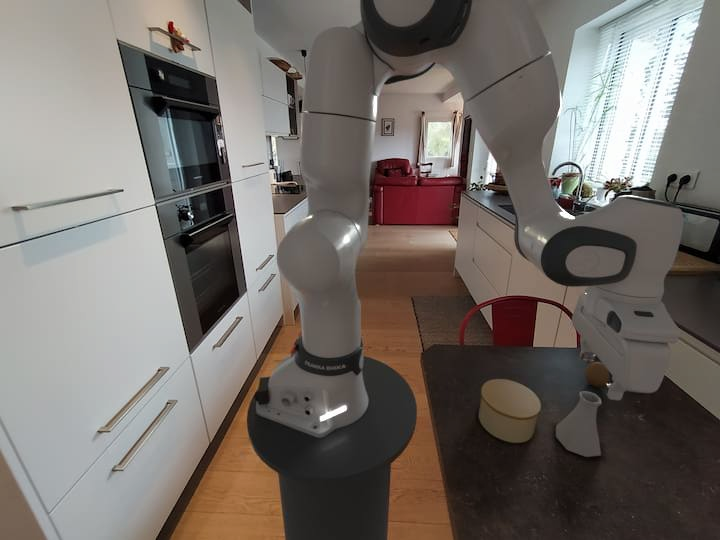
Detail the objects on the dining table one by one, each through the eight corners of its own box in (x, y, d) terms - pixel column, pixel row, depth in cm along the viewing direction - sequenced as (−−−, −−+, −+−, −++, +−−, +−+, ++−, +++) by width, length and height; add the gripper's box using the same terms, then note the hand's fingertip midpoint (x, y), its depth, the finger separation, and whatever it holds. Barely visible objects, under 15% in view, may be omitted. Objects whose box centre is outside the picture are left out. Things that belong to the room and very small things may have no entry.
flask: (548, 422, 64) (559, 380, 60) (590, 429, 62) (603, 386, 59) (562, 454, 57) (575, 409, 53) (609, 462, 55) (625, 415, 52)
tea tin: (480, 438, 60) (485, 412, 58) (474, 399, 70) (478, 375, 68) (542, 448, 58) (548, 422, 56) (526, 407, 67) (532, 382, 65)
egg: (610, 392, 72) (618, 369, 70) (590, 391, 72) (597, 369, 70) (597, 378, 76) (604, 357, 74) (578, 378, 76) (584, 356, 74)
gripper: (571, 278, 60) (556, 342, 65) (632, 334, 41) (605, 419, 46) (609, 280, 59) (591, 346, 64) (690, 339, 40) (657, 426, 45)
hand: (598, 377), depth 55 cm, fingers open, 8 cm apart
